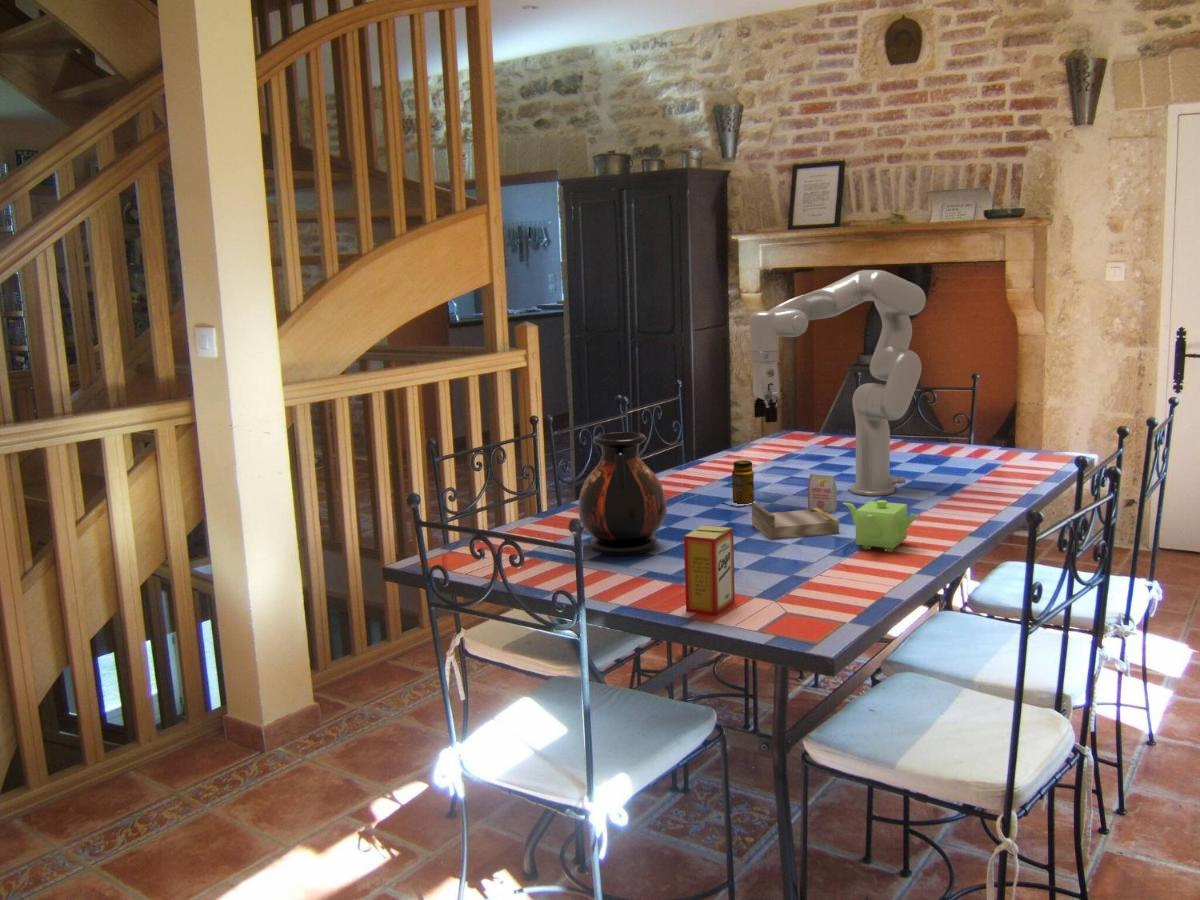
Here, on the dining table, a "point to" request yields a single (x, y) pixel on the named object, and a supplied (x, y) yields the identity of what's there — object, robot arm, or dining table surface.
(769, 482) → the dining table surface
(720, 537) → the baking soda box
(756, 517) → the dock
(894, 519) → the kettle
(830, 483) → the small white carton
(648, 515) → the amphora vase
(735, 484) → the condiment
